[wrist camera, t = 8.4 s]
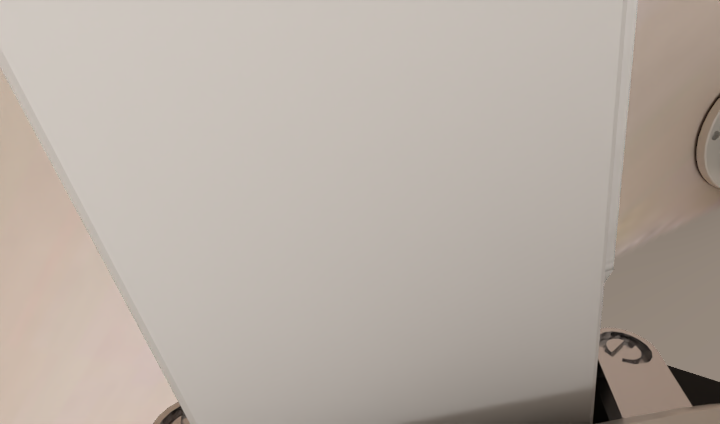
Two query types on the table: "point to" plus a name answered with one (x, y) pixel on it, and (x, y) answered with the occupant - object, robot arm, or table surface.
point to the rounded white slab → (344, 194)
